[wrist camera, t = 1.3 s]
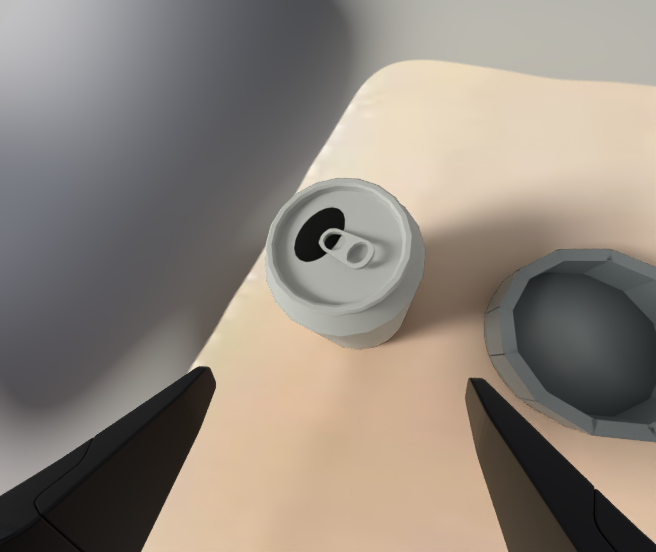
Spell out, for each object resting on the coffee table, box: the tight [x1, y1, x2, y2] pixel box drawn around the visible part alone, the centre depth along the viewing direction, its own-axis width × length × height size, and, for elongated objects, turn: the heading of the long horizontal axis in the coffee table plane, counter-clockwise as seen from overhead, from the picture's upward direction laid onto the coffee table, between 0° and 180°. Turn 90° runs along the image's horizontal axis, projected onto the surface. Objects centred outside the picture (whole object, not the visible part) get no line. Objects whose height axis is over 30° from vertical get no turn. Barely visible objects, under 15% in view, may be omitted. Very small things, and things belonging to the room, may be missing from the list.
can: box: [265, 178, 425, 350], centre depth 17 cm, size 8×8×12 cm
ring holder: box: [484, 249, 656, 442], centre depth 18 cm, size 11×11×3 cm
